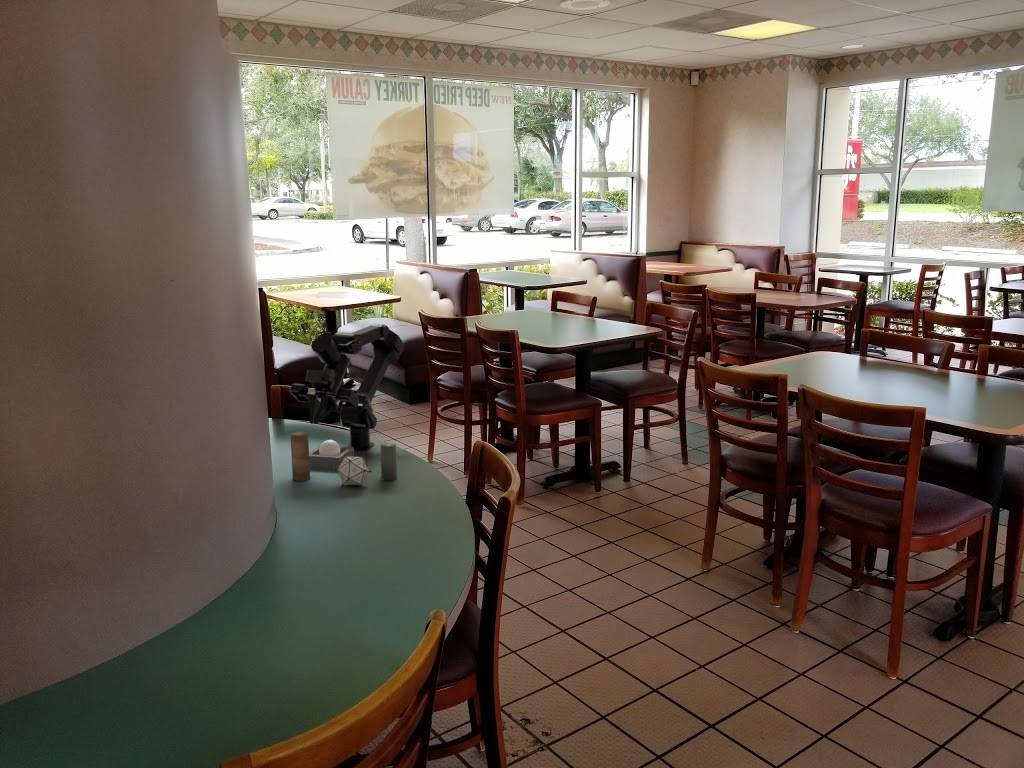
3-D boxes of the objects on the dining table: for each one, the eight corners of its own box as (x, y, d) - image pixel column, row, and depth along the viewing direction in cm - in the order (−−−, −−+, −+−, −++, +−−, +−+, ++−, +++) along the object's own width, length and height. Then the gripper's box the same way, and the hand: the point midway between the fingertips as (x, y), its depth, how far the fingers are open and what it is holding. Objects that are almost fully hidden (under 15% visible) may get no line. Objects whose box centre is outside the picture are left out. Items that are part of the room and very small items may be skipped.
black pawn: (384, 475, 218) (383, 442, 216) (398, 476, 217) (398, 443, 215) (379, 480, 214) (378, 446, 212) (393, 481, 213) (393, 447, 211)
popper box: (320, 455, 233) (319, 444, 233) (354, 458, 232) (353, 447, 231) (305, 466, 224) (304, 455, 223) (340, 469, 222) (339, 457, 221)
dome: (324, 457, 231) (323, 436, 230) (343, 458, 230) (342, 437, 229) (316, 463, 225) (315, 442, 224) (335, 464, 224) (334, 443, 223)
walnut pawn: (297, 475, 217) (294, 431, 215) (313, 476, 216) (310, 432, 214) (289, 480, 213) (287, 435, 210) (305, 482, 212) (303, 437, 210)
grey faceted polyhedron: (346, 498, 211) (328, 464, 213) (376, 483, 214) (358, 449, 216) (346, 492, 203) (328, 457, 205) (378, 476, 206) (359, 441, 207)
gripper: (290, 354, 221) (268, 404, 214) (351, 359, 215) (330, 411, 208) (309, 376, 230) (288, 425, 223) (368, 382, 224) (348, 432, 217)
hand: (312, 423), depth 217 cm, fingers closed
